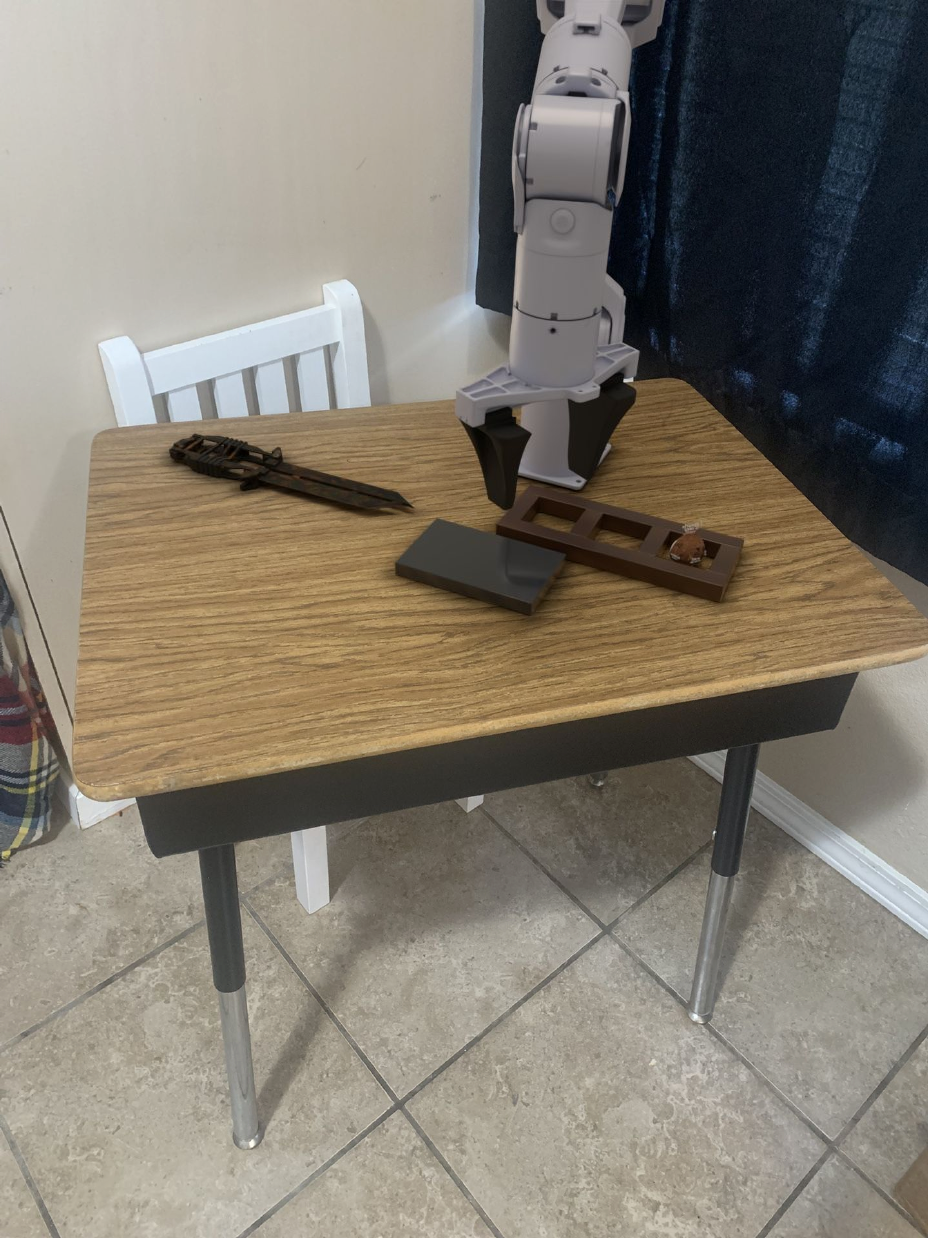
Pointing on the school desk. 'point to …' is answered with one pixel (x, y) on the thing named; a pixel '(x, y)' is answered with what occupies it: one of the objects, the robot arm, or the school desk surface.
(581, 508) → the rack
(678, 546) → the chocolate
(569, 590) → the school desk surface
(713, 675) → the school desk surface
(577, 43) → the robot arm
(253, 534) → the school desk surface
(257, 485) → the knife
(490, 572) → the board
